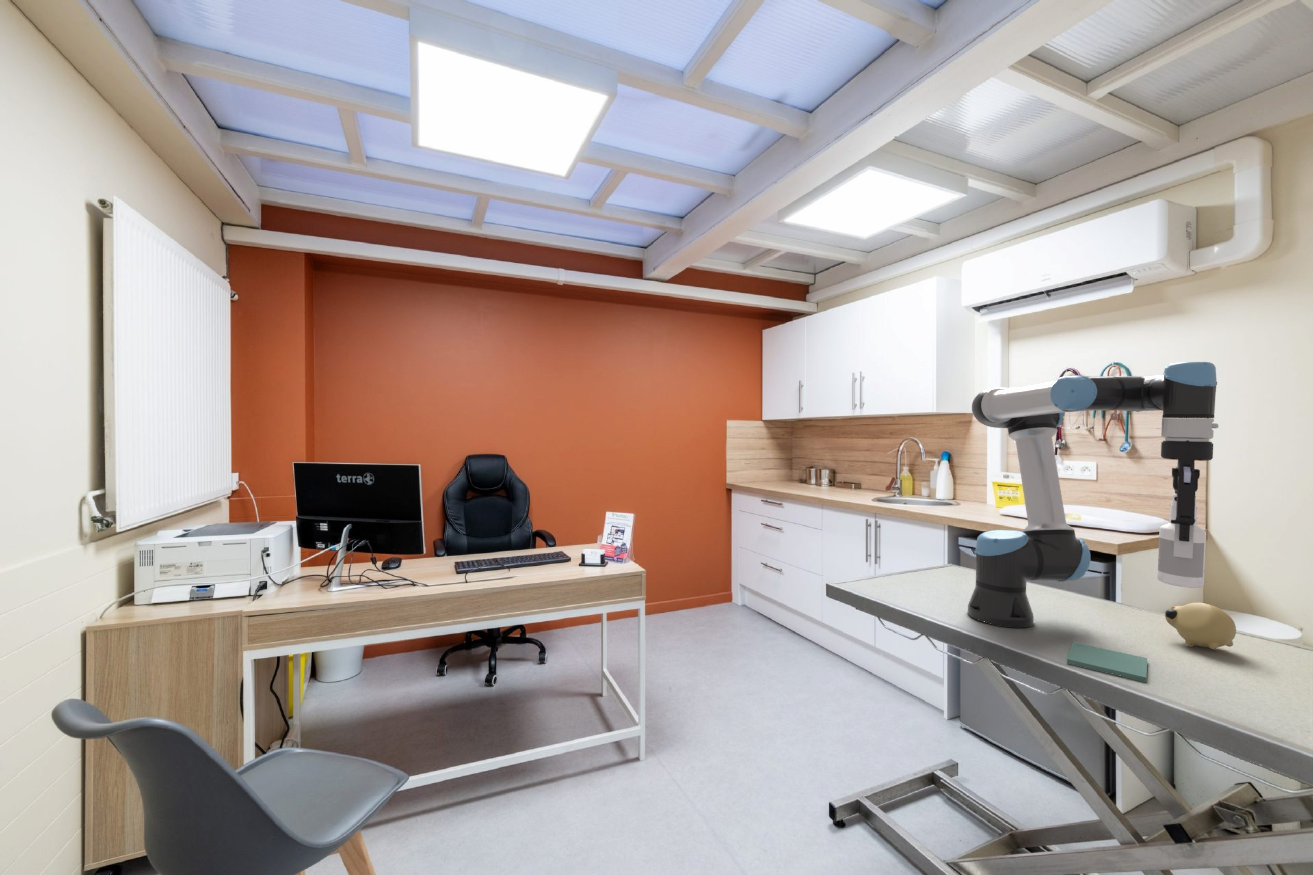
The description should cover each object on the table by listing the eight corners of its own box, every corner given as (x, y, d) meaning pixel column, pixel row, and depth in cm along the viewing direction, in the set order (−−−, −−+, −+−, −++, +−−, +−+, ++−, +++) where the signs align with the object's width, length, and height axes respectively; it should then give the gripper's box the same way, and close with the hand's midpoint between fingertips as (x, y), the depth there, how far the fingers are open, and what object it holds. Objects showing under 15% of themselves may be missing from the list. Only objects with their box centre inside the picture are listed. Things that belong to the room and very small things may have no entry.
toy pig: (1184, 635, 138) (1185, 593, 138) (1246, 654, 127) (1247, 608, 126) (1155, 638, 136) (1156, 595, 135) (1215, 658, 124) (1217, 611, 124)
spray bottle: (1148, 578, 114) (1151, 492, 114) (1177, 578, 115) (1181, 492, 114) (1182, 588, 108) (1186, 497, 107) (1213, 588, 108) (1218, 497, 108)
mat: (1066, 663, 121) (1067, 658, 121) (1073, 646, 130) (1073, 642, 130) (1146, 682, 112) (1146, 677, 112) (1147, 662, 122) (1147, 657, 122)
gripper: (1218, 442, 100) (1212, 566, 101) (1209, 439, 115) (1204, 548, 116) (1162, 440, 105) (1157, 559, 106) (1160, 438, 120) (1156, 542, 121)
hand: (1181, 553), depth 111 cm, fingers closed on spray bottle, 7 cm apart
